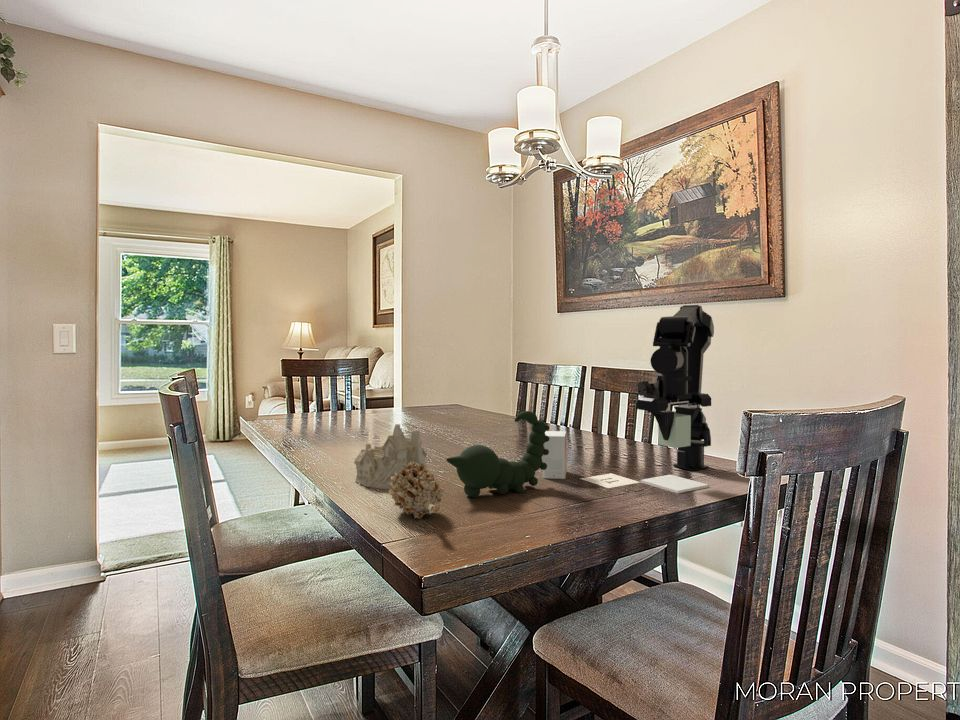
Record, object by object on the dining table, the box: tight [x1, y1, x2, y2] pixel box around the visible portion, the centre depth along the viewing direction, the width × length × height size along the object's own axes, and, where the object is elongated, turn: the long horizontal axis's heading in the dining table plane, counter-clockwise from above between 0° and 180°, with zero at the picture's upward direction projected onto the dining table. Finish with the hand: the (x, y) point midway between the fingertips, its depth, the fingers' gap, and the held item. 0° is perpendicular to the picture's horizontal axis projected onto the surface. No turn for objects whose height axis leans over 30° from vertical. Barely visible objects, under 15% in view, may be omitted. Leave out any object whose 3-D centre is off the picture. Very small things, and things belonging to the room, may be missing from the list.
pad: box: [640, 474, 709, 494], centre depth 131 cm, size 10×11×1 cm
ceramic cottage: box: [353, 423, 431, 490], centre depth 137 cm, size 16×16×15 cm
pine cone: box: [387, 461, 444, 520], centre depth 107 cm, size 22×10×10 cm, turn 27°
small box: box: [542, 430, 568, 480], centre depth 141 cm, size 8×6×10 cm
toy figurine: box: [445, 410, 550, 499], centre depth 125 cm, size 9×19×25 cm
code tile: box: [579, 472, 641, 489], centre depth 135 cm, size 10×10×1 cm
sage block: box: [657, 413, 691, 449], centre depth 130 cm, size 5×5×7 cm
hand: (674, 438), depth 131 cm, fingers closed on sage block, 5 cm apart
